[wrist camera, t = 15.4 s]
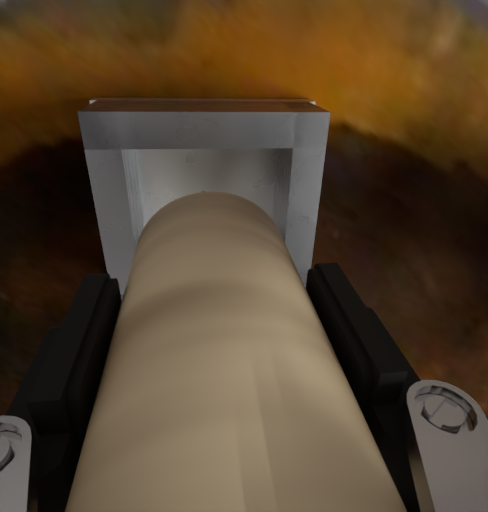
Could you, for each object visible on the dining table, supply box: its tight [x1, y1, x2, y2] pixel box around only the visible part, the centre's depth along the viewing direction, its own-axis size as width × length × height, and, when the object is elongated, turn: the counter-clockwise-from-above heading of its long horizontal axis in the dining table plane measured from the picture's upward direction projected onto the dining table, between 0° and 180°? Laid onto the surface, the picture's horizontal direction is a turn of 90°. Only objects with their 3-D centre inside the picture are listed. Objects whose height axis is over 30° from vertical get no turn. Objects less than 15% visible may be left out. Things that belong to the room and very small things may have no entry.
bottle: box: [65, 191, 407, 512], centre depth 8 cm, size 5×5×12 cm
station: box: [77, 97, 330, 300], centre depth 22 cm, size 28×10×4 cm, turn 179°
